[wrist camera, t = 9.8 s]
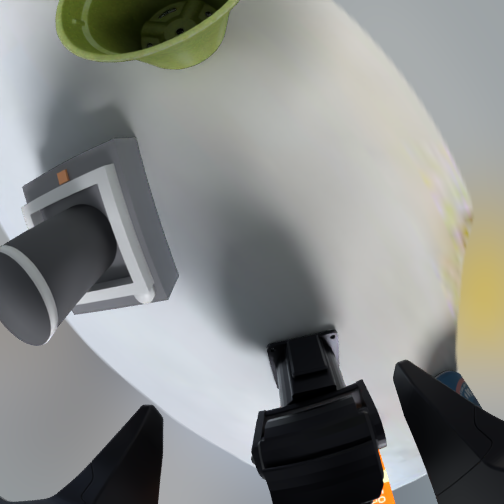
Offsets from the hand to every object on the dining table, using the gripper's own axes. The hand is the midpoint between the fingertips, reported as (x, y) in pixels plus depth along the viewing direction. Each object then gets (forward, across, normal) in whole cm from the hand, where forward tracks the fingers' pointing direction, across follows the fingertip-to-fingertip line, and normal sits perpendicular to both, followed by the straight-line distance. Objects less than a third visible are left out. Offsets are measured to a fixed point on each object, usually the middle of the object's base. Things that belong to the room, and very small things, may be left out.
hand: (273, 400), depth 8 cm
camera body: (+13, +11, -5) cm, 18 cm away
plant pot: (+13, +2, -17) cm, 22 cm away
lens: (+10, +11, -5) cm, 15 cm away
